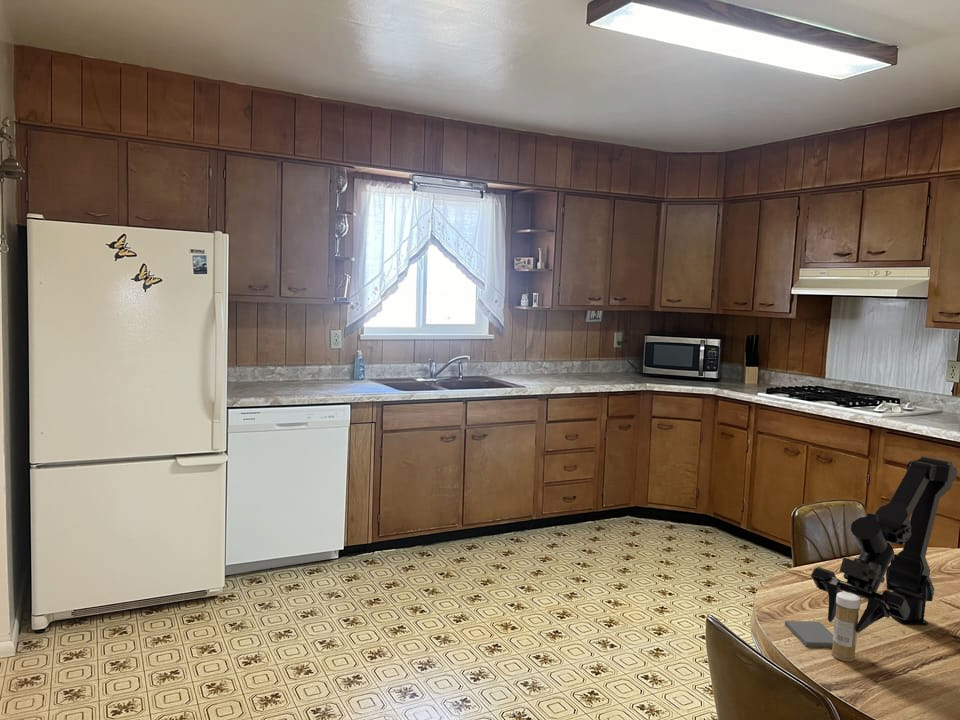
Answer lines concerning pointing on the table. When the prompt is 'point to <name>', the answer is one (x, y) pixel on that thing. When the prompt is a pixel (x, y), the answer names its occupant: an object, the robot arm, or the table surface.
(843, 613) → the sprinkles bottle
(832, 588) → the robot arm
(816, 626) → the slate tile
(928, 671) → the table surface
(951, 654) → the table surface
